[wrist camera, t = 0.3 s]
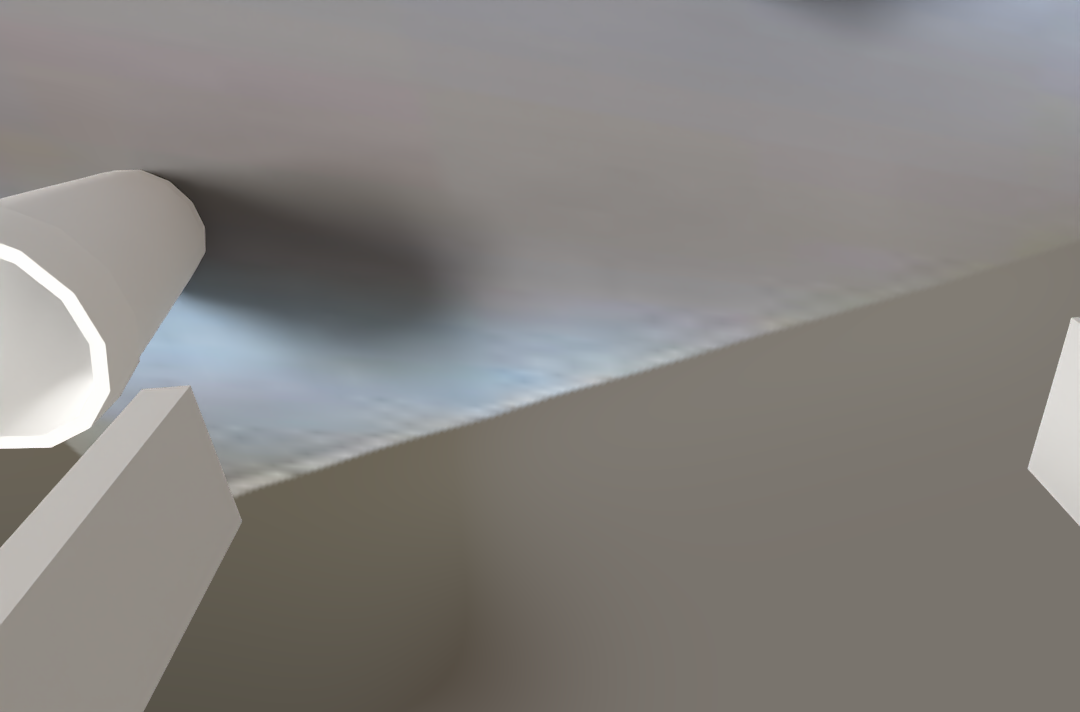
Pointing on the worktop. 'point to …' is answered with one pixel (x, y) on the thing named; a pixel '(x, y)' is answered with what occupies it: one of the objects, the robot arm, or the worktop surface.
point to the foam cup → (85, 295)
